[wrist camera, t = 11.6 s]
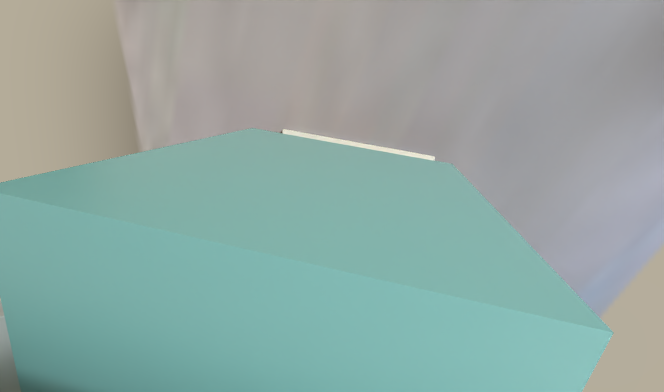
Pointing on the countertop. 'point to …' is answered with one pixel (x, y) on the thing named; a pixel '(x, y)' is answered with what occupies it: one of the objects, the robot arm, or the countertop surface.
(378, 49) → the countertop surface
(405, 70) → the countertop surface
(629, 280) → the countertop surface
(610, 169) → the countertop surface
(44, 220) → the teal cube
